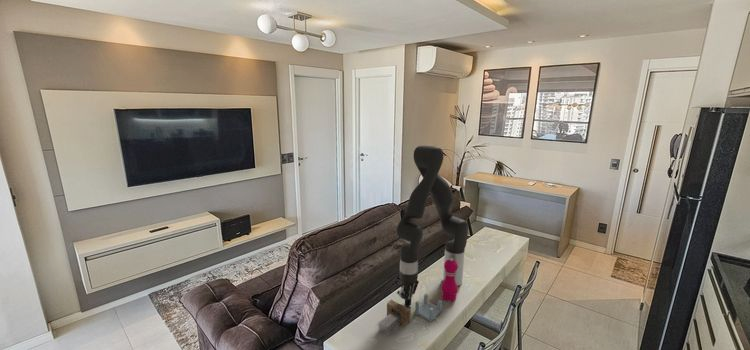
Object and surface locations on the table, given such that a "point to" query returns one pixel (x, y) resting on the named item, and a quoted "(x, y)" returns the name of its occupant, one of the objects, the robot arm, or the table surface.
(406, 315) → the wooden arch block
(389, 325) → the steel bar
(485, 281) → the table surface
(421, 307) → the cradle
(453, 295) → the pepper mill
